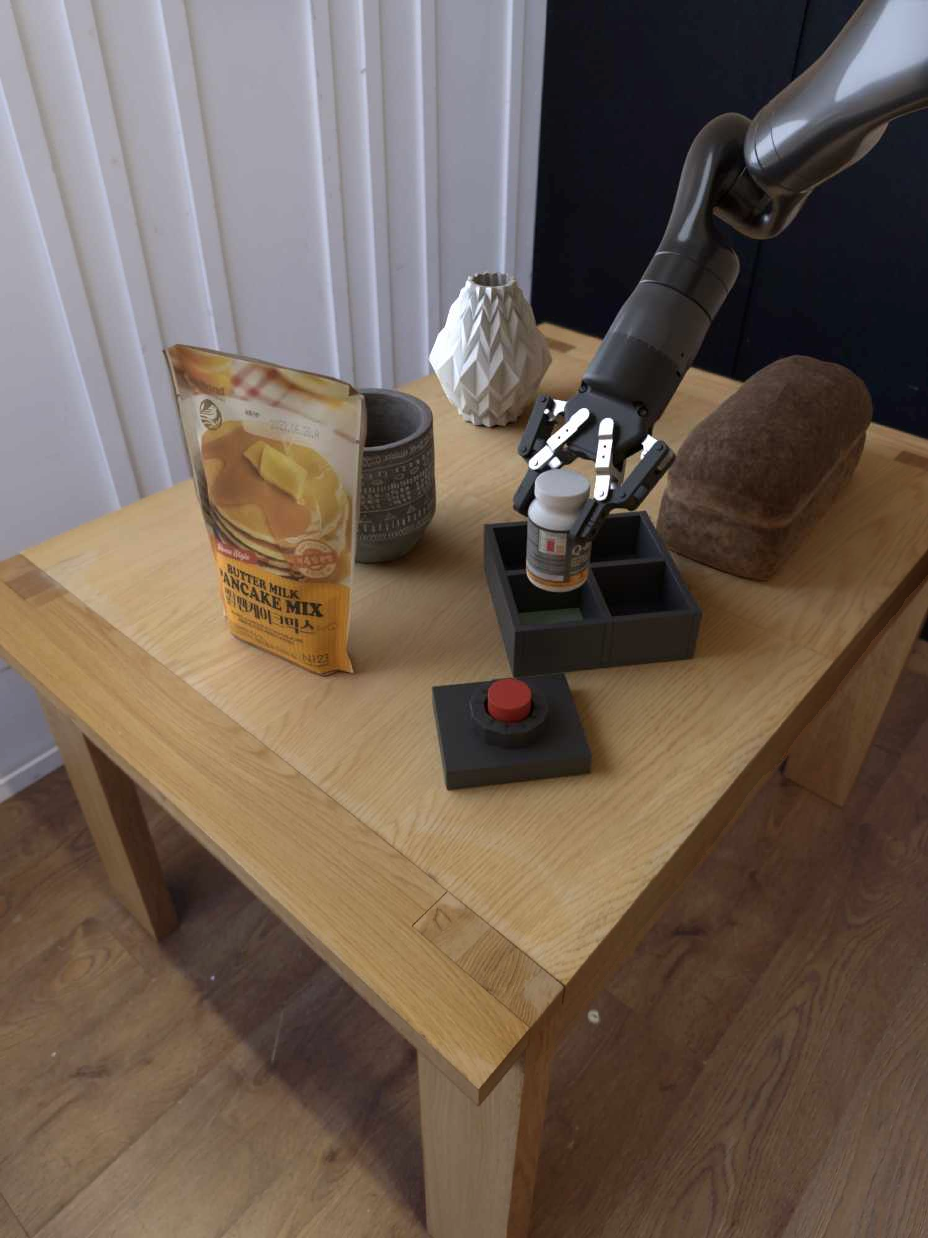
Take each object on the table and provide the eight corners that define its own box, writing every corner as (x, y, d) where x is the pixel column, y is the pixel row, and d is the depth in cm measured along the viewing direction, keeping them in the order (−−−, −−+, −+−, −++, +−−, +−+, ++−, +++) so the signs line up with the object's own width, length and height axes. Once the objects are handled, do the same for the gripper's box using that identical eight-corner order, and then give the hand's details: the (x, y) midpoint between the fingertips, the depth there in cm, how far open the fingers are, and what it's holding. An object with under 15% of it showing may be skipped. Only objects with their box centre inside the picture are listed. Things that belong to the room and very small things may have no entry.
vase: (408, 420, 122) (401, 284, 110) (478, 378, 132) (479, 250, 120) (504, 454, 114) (508, 312, 102) (571, 408, 124) (581, 274, 112)
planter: (462, 533, 100) (462, 412, 91) (376, 592, 92) (365, 466, 82) (372, 491, 107) (363, 375, 98) (284, 543, 99) (264, 422, 89)
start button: (526, 691, 76) (526, 676, 74) (534, 721, 73) (535, 706, 72) (484, 695, 75) (484, 680, 74) (491, 726, 72) (491, 711, 71)
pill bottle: (583, 599, 78) (592, 503, 72) (520, 590, 79) (523, 495, 73) (591, 562, 83) (600, 469, 76) (531, 554, 84) (535, 461, 77)
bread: (864, 470, 111) (904, 347, 100) (764, 597, 91) (800, 461, 81) (753, 437, 117) (779, 319, 107) (638, 548, 98) (657, 417, 88)
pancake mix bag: (244, 589, 93) (189, 327, 75) (392, 652, 85) (370, 377, 67) (197, 624, 88) (128, 355, 70) (349, 694, 80) (314, 412, 63)
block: (562, 690, 81) (565, 657, 78) (590, 773, 73) (594, 740, 71) (432, 703, 79) (431, 671, 77) (446, 790, 72) (445, 757, 69)
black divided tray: (639, 553, 97) (645, 510, 94) (693, 658, 84) (703, 613, 80) (483, 567, 95) (483, 524, 92) (513, 677, 82) (514, 631, 78)
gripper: (562, 309, 76) (466, 482, 77) (706, 356, 68) (596, 549, 69) (596, 350, 82) (506, 510, 83) (731, 398, 74) (630, 574, 75)
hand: (547, 526), depth 76 cm, fingers closed on pill bottle, 5 cm apart
